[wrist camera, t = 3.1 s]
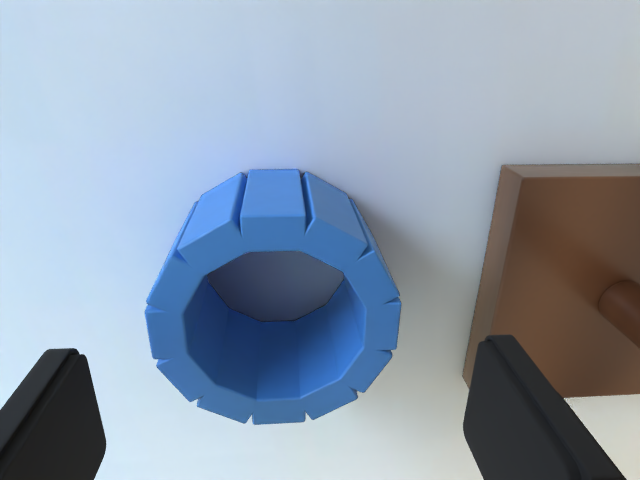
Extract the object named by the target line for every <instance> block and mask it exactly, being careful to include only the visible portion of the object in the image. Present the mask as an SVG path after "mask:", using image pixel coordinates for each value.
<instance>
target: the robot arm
mask: <svg viewBox="0 0 640 480" xmlns="http://www.w3.org/2000/svg"><path fill="white" fill-rule="evenodd" d="M463 430H464V436H465V439H466V441H467V443H468V445H469V448H470V450H471V452H472V454H473V457H474V459H475V461H476V463H477V465H478V468H479V470H480V472H481V474H482V476H483V479H484V480H626V478H625V477H624V476H623V475H622V473H621V472H620V471H619V469H618V468H617V467H616V466H615V464H614V463H613V462H612V460H611V459H610V458H609V457H608V455H607V454H606V453H605V451H604V450H603V449H602V448H601V446H600V445H599V444H598V442H597V441H596V440H595V439H594V437H593V436H592V435H591V433H590V432H589V431H588V430H587V428H586V427H585V426H584V424H583V423H582V422H581V421H580V419H579V418H578V417H577V415H576V414H575V413H574V411H573V410H572V409H571V408H570V406H569V405H568V404H567V402H566V401H565V400H564V399H563V397H562V396H561V395H560V394H559V393H558V392H557V391H556V390H555V389H554V388H553V386H552V385H551V384H550V382H549V381H548V380H547V379H546V377H545V376H544V375H543V373H542V372H541V371H540V369H539V368H538V367H537V366H536V364H535V363H534V362H533V360H532V359H531V358H530V357H529V355H528V354H527V353H526V351H525V350H524V349H523V348H522V346H521V345H520V344H519V342H518V341H517V340H516V338H515V337H514V336H513V335H510V334H509V335H488V336H486V338H485V340H484V341H481V342H479V344H478V347H477V352H476V357H475V363H474V368H473V373H472V379H471V384H470V390H469V395H468V400H467V406H466V411H465V416H464V422H463ZM105 450H106V438H105V434H104V429H103V425H102V421H101V417H100V412H99V408H98V404H97V400H96V395H95V391H94V387H93V383H92V378H91V374H90V370H89V366H88V361H87V358H86V356H85V355H83V354H81V355H79V352H78V351H77V349H74V348H69V349H49V350H47V351H45V352H44V354H43V355H42V356H41V357H40V359H39V360H38V361H37V363H36V364H35V365H34V367H33V368H32V369H31V371H30V372H29V373H28V375H27V376H26V377H25V378H24V380H23V381H22V382H21V384H20V385H19V386H18V388H17V389H16V390H15V392H14V393H13V394H12V395H11V397H10V398H9V399H8V401H7V402H6V403H5V405H4V406H3V407H2V409H1V410H0V480H94V478H95V476H96V474H97V471H98V469H99V467H100V464H101V462H102V460H103V457H104V454H105Z"/></svg>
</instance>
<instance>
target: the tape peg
mask: <svg viewBox="0 0 640 480" xmlns="http://www.w3.org/2000/svg"><path fill="white" fill-rule="evenodd" d="M509 334H510V335H513V336H514V337H515V338H516V340H517V341H518V342H519V344H520V345H521V346H522V348H523V349H524V350H525V351H526V353H527V354H528V355H529V357H530V358H531V359H532V360H533V362H534V363H535V364H536V366H537V367H538V368H539V369H540V371H541V372H542V373H543V375H544V376H545V377H546V379H547V380H548V381H549V382H550V384H551V385H552V386H553V388H554V389H555V390H556V391H557V392H558V393H559V394H560V395H561V396H562V397H563V398H571V397H591V396H610V395H629V394H640V164H553V165H502V168H501V173H500V179H499V184H498V189H497V195H496V200H495V205H494V211H493V216H492V221H491V227H490V232H489V237H488V243H487V248H486V253H485V259H484V264H483V269H482V275H481V280H480V286H479V291H478V296H477V302H476V307H475V312H474V318H473V323H472V328H471V334H470V339H469V344H468V350H467V355H466V360H465V366H464V371H463V378H464V380H465V382H466V384H467V386H468V388H469V390H470V384H471V379H472V373H473V368H474V363H475V357H476V352H477V347H478V344H479V342H481V341H484V340H485V338H486V336H488V335H509Z"/></svg>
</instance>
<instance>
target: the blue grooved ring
mask: <svg viewBox="0 0 640 480" xmlns="http://www.w3.org/2000/svg"><path fill="white" fill-rule="evenodd" d="M272 251H301V252H303V253H305V254H307V255H309V256H312V257H314V258H316V259H318V260H320V261H322V262H324V263H326V264H328V265H330V266H332V267H334V268H336V269H338V270H340V271H342V272H343V273H344V280H343V281H342V283H341V284H340V286H339V287H338V289H337V290H336V292H335V293H334V294H333V296H332V297H331V299H330V300H329V302H328V303H327V305H325V306H323V307H321V308H319V309H317V310H315V311H313V312H311V313H309V314H307V315H305V316H304V317H302V318H300V319H298V320H296V321H274V322H260V321H258V320H255V319H253V318H251V317H248V316H246V315H244V314H241V313H239V312H237V311H235V310H232V309H230V308H229V307H228V306H227V305H226V304H225V302H224V301H223V300H222V299H221V297H220V296H219V295H218V294H217V292H216V291H215V290H214V288H213V287H212V286H211V285H210V283H209V282H208V274H209V273H211V272H213V271H214V270H216V269H218V268H220V267H222V266H223V265H225V264H227V263H229V262H231V261H233V260H234V259H236V258H238V257H240V256H242V255H243V254H245V253H247V252H272ZM398 296H400V294H399V291H398V289H397V287H396V285H395V283H394V281H393V278H392V276H391V274H390V272H389V270H388V268H387V265H386V263H385V261H384V259H383V257H382V255H381V252H380V250H379V248H378V246H377V244H376V241H375V239H374V237H373V235H372V233H371V231H370V230H369V228H368V226H367V224H366V222H365V221H364V219H363V217H362V215H361V214H360V212H359V210H358V208H357V206H356V205H355V203H354V201H353V199H350V200H349V198H348V196H347V194H346V193H345V192H343V191H341V190H339V189H337V188H336V187H334V186H332V185H330V184H328V183H327V182H325V181H323V180H321V179H319V178H318V177H316V176H314V175H312V174H310V173H309V172H305V173H304V175H303V177H302V178H301V179H300V172H299V170H298V169H274V170H249V174H248V179H247V178H246V176H245V175H244V173H239V174H237V175H235V176H234V177H232V178H230V179H229V180H227V181H225V182H223V183H222V184H220V185H218V186H216V187H215V188H213V189H211V190H210V191H208V192H206V193H204V194H203V195H202V196H201V197H200V200H199V202H195V203H194V205H193V207H192V209H191V211H190V213H189V215H188V216H187V218H186V220H185V222H184V224H183V226H182V228H181V230H180V232H179V234H178V236H177V238H176V240H175V242H174V244H173V246H172V248H171V250H170V252H169V254H168V256H167V259H166V261H165V263H164V265H163V267H162V269H161V271H160V273H159V275H158V277H157V279H156V281H155V283H154V285H153V287H152V290H151V292H150V294H149V296H148V298H147V300H146V302H147V304H148V305H147V308H146V310H145V317H146V323H147V329H148V335H149V341H150V347H151V352H152V357H153V359H158V362H157V365H156V366H157V368H158V369H159V370H160V371H161V372H162V373H163V374H164V375H165V376H166V378H167V379H168V380H169V381H170V382H171V383H172V384H173V385H174V386H175V387H176V388H177V389H178V390H179V391H180V392H181V393H182V394H183V395H184V397H185V398H186V399H187V400H188V401H189V402H192V401H194V400H196V399H198V402H197V407H199V408H202V409H205V410H208V411H211V412H213V413H216V414H219V415H222V416H225V417H227V418H230V419H233V420H236V421H238V422H241V423H246V422H247V421H248V419H249V418H250V416H251V415H252V422H253V424H254V425H259V424H278V423H296V422H304V421H305V411H306V413H307V414H308V415H309V416H310V418H311V419H312V420H314V419H316V418H318V417H321V416H323V415H325V414H327V413H329V412H331V411H333V410H335V409H337V408H339V407H341V406H343V405H345V404H348V403H350V402H352V401H354V400H356V399H357V398H358V395H357V391H359V392H362V393H364V392H365V391H366V390H367V389H368V387H369V386H370V385H371V384H372V382H373V381H374V380H375V378H376V377H377V376H378V375H379V373H380V372H381V371H382V370H383V368H384V367H385V366H386V364H387V363H388V362H389V361H390V359H391V358H392V352H391V350H395V349H396V348H397V340H398V331H399V321H400V312H401V301H400V299H399V297H398ZM356 390H357V391H356Z"/></svg>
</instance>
